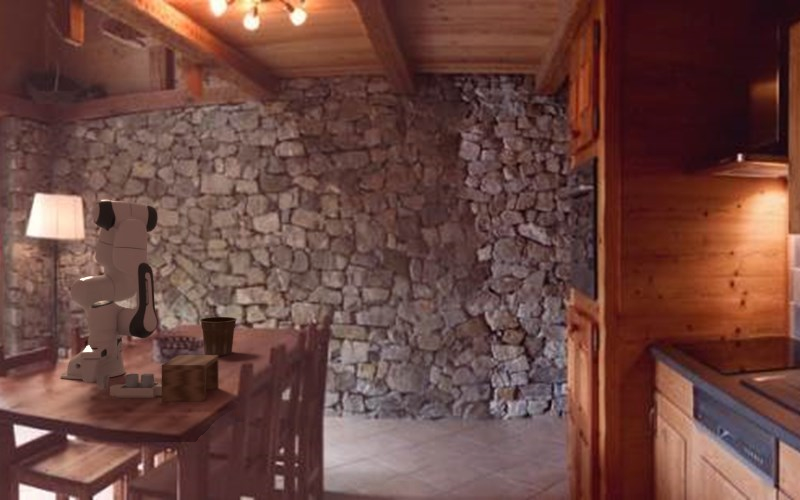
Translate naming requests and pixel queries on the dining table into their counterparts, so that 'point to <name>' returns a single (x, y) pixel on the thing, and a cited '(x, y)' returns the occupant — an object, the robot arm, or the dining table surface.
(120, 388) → the tray
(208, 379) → the wooden crate box
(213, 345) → the plant pot
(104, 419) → the dining table surface
